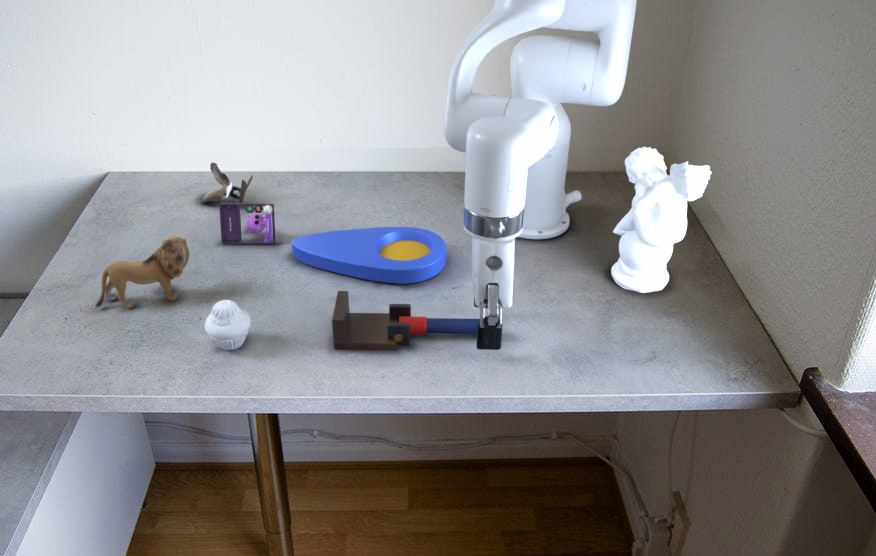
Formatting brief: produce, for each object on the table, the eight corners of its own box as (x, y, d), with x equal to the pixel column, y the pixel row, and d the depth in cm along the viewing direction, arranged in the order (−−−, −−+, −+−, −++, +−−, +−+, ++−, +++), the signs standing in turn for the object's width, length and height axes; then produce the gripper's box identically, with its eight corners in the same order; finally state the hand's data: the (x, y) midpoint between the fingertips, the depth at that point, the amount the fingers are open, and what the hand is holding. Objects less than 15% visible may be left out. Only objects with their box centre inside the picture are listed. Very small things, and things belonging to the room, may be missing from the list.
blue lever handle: (495, 328, 109) (496, 313, 107) (496, 340, 106) (497, 324, 105) (400, 327, 109) (399, 312, 107) (399, 339, 107) (398, 323, 105)
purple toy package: (217, 203, 126) (272, 204, 126) (226, 199, 131) (279, 200, 131) (220, 244, 128) (274, 245, 127) (228, 238, 133) (280, 239, 132)
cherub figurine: (598, 263, 123) (618, 133, 110) (668, 252, 126) (696, 124, 113) (634, 305, 113) (661, 168, 101) (709, 293, 116) (744, 158, 103)
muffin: (204, 336, 108) (196, 295, 104) (247, 325, 110) (241, 285, 106) (213, 362, 103) (205, 320, 99) (258, 350, 105) (252, 308, 101)
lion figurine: (192, 277, 120) (182, 226, 115) (200, 294, 116) (190, 243, 111) (94, 301, 115) (78, 249, 110) (98, 320, 111) (82, 267, 106)
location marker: (282, 278, 120) (440, 288, 117) (279, 259, 118) (440, 269, 115) (305, 236, 131) (451, 244, 127) (303, 218, 129) (451, 226, 125)
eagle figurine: (258, 186, 143) (215, 172, 145) (249, 166, 136) (204, 151, 138) (240, 221, 141) (196, 206, 142) (230, 202, 134) (184, 187, 135)
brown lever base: (411, 320, 111) (410, 291, 108) (409, 350, 105) (409, 321, 102) (339, 319, 111) (337, 290, 108) (334, 349, 105) (331, 320, 102)
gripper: (529, 252, 90) (519, 366, 99) (517, 186, 104) (509, 292, 114) (465, 252, 90) (460, 366, 100) (462, 186, 104) (458, 291, 114)
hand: (486, 326), depth 107 cm, fingers open, 9 cm apart
